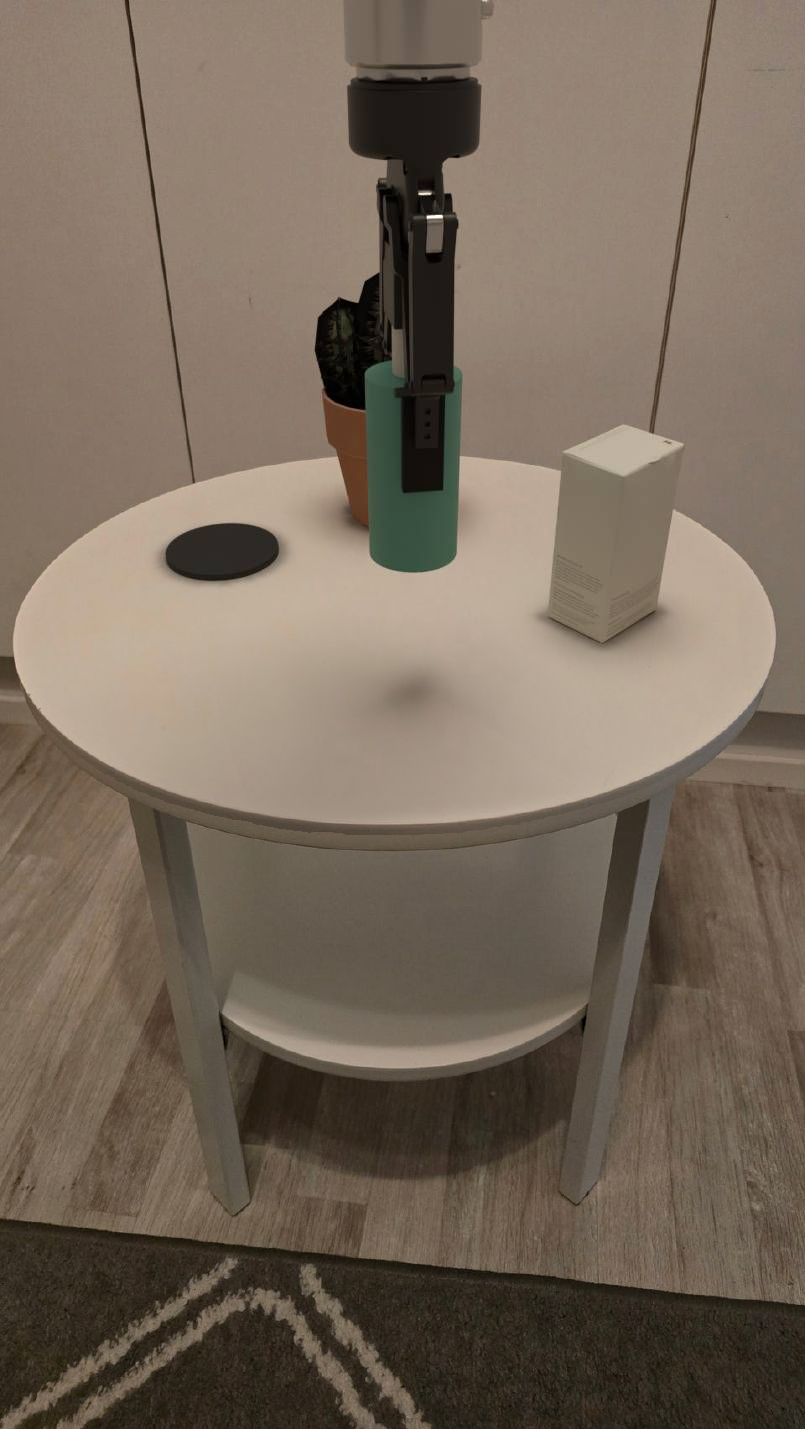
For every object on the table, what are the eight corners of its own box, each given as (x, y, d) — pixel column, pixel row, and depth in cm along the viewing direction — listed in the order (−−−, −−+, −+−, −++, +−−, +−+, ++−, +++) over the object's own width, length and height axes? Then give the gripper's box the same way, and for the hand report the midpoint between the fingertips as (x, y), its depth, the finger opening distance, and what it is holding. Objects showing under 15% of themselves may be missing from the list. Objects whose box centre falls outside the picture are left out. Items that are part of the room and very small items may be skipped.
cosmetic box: (603, 585, 91) (623, 421, 82) (662, 612, 87) (691, 442, 78) (543, 618, 87) (558, 447, 77) (603, 647, 83) (626, 472, 73)
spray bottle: (465, 569, 70) (477, 253, 58) (376, 576, 69) (368, 257, 57) (444, 524, 76) (451, 228, 63) (362, 530, 75) (353, 231, 63)
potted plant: (432, 478, 111) (434, 237, 96) (477, 530, 100) (487, 267, 85) (315, 496, 108) (298, 248, 93) (348, 550, 97) (335, 281, 82)
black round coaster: (164, 585, 92) (163, 579, 92) (167, 532, 101) (166, 527, 100) (282, 574, 93) (281, 569, 93) (275, 524, 102) (274, 518, 102)
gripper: (525, 86, 47) (499, 525, 61) (446, 61, 63) (439, 416, 76) (370, 89, 46) (379, 534, 60) (329, 63, 62) (343, 422, 75)
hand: (413, 468), depth 68 cm, fingers closed on spray bottle, 6 cm apart
